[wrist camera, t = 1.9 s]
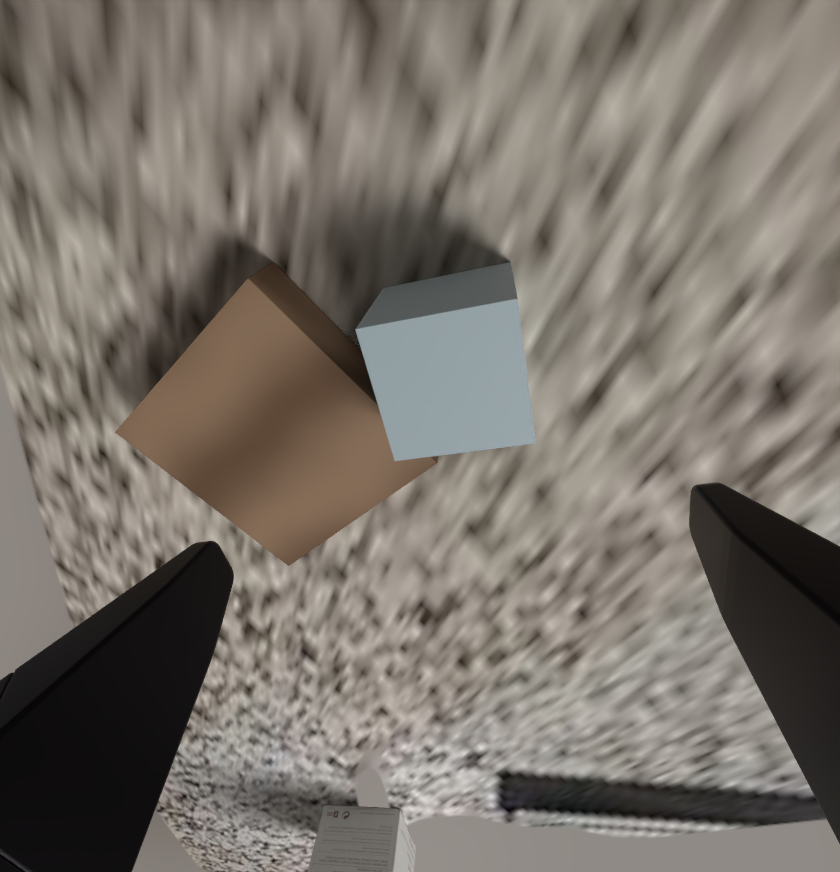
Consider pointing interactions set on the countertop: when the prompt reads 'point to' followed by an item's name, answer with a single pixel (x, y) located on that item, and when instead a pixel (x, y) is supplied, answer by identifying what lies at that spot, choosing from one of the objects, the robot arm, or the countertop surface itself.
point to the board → (273, 421)
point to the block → (449, 364)
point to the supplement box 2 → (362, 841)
